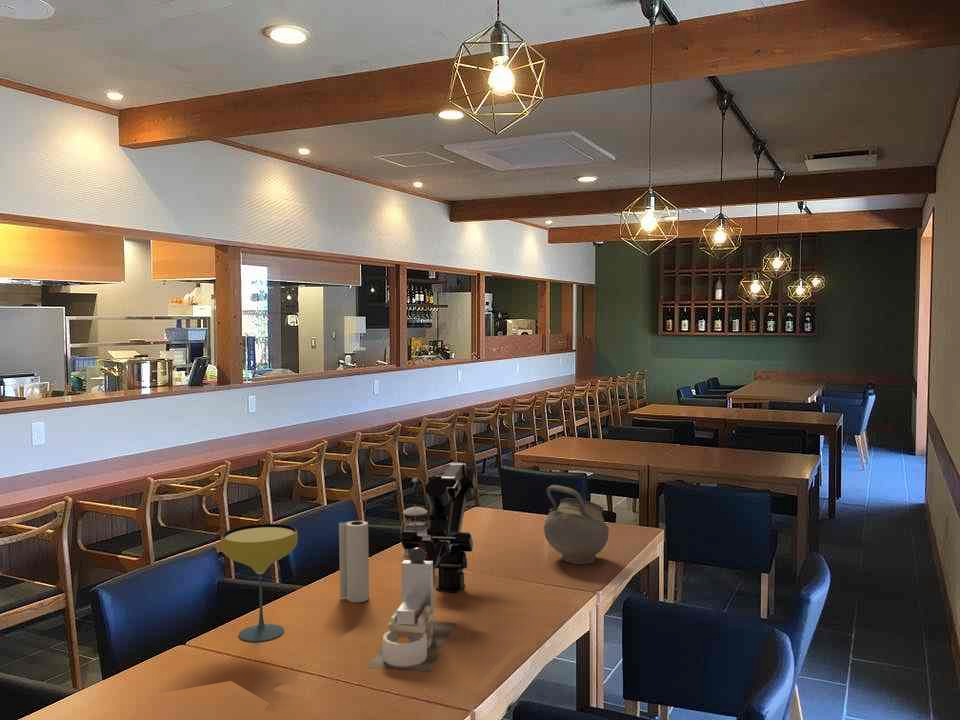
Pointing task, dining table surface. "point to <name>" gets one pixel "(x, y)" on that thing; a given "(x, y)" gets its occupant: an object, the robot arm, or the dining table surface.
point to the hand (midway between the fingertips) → (432, 570)
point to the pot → (575, 527)
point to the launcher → (421, 626)
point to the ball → (403, 640)
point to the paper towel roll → (354, 561)
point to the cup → (404, 649)
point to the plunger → (416, 587)
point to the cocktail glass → (259, 563)
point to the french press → (414, 525)
